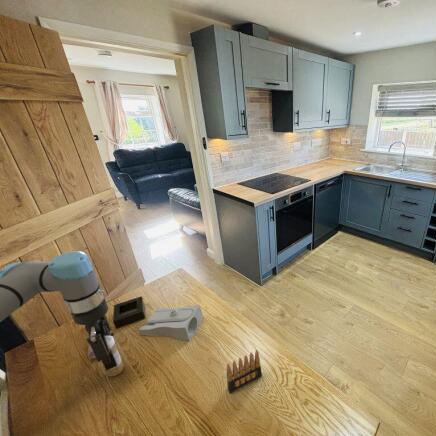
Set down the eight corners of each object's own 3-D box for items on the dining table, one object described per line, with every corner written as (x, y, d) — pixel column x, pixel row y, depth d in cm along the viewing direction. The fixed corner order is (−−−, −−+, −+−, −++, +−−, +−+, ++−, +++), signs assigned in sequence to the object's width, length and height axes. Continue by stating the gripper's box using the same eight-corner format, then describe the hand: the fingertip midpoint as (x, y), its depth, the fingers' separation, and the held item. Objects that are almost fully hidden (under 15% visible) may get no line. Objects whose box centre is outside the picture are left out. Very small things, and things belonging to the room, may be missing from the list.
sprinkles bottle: (103, 376, 75) (90, 347, 69) (114, 362, 79) (102, 334, 73) (117, 377, 75) (104, 349, 69) (127, 363, 79) (116, 335, 73)
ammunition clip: (259, 371, 78) (258, 346, 73) (262, 376, 76) (260, 350, 72) (227, 388, 73) (223, 362, 68) (229, 393, 72) (225, 367, 67)
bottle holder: (115, 329, 92) (112, 321, 90) (116, 312, 100) (114, 305, 98) (145, 318, 97) (143, 311, 95) (144, 303, 104) (141, 296, 103)
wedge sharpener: (189, 341, 88) (186, 327, 85) (140, 334, 90) (135, 321, 87) (203, 318, 97) (201, 305, 95) (158, 312, 100) (154, 299, 97)
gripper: (102, 320, 60) (126, 378, 70) (106, 282, 74) (126, 335, 83) (63, 333, 57) (94, 392, 66) (75, 290, 70) (99, 345, 80)
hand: (111, 360), depth 75 cm, fingers closed on sprinkles bottle, 4 cm apart
